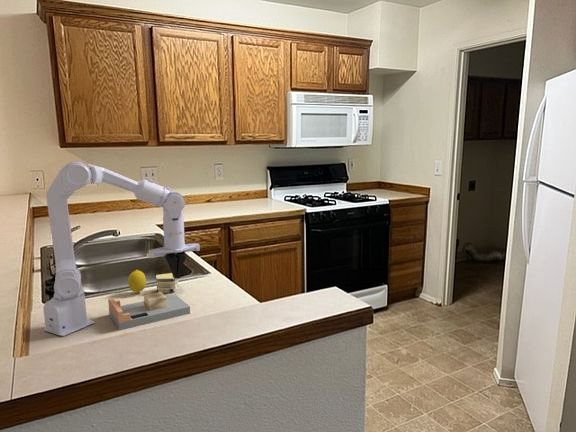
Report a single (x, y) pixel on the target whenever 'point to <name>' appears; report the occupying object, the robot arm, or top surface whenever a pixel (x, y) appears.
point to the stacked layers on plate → (166, 283)
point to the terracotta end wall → (118, 311)
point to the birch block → (155, 301)
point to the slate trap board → (151, 312)
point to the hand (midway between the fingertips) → (176, 277)
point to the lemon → (137, 281)
